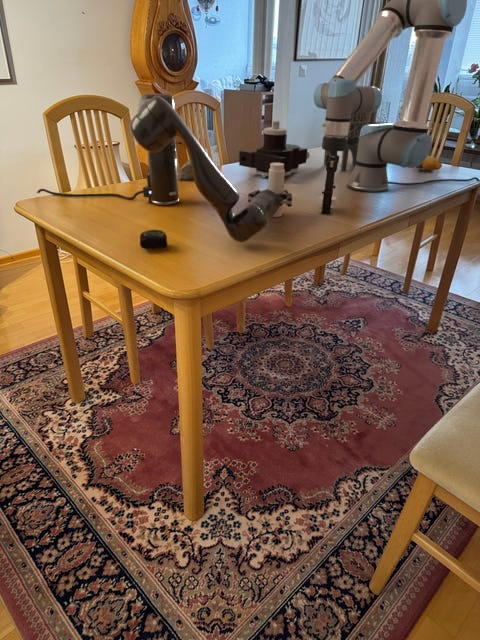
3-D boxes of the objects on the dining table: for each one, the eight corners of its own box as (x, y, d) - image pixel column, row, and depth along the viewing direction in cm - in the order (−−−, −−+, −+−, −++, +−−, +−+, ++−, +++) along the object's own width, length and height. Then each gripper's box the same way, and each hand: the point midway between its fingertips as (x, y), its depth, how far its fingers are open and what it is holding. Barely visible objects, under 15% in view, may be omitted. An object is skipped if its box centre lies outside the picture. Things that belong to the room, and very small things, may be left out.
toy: (415, 164, 201) (409, 156, 214) (418, 178, 204) (412, 170, 217) (442, 156, 198) (434, 149, 211) (444, 170, 201) (436, 162, 214)
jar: (266, 212, 147) (269, 162, 139) (281, 212, 147) (284, 162, 139) (266, 216, 143) (269, 165, 135) (282, 217, 143) (285, 165, 135)
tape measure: (140, 252, 115) (139, 238, 113) (141, 242, 120) (140, 229, 119) (167, 251, 116) (166, 237, 114) (167, 241, 121) (166, 228, 120)
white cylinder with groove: (336, 206, 146) (337, 200, 145) (319, 205, 146) (319, 199, 145) (334, 201, 150) (335, 195, 149) (317, 200, 151) (318, 195, 150)
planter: (313, 167, 208) (319, 103, 195) (331, 160, 222) (338, 101, 209) (353, 173, 199) (362, 107, 185) (369, 166, 213) (379, 104, 199)
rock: (201, 173, 191) (201, 157, 188) (214, 178, 186) (214, 161, 182) (175, 178, 184) (174, 161, 180) (187, 183, 178) (186, 166, 175)
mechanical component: (240, 120, 182) (283, 115, 202) (239, 174, 192) (280, 164, 212) (283, 126, 170) (325, 120, 190) (280, 183, 180) (320, 171, 200)
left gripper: (288, 195, 126) (300, 182, 140) (239, 190, 130) (256, 178, 144) (286, 222, 130) (298, 206, 144) (239, 216, 134) (255, 201, 148)
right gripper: (324, 131, 146) (316, 202, 158) (321, 139, 130) (312, 218, 142) (348, 132, 145) (338, 204, 157) (347, 141, 129) (336, 220, 141)
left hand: (277, 192), depth 144 cm, fingers closed on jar, 5 cm apart
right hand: (326, 210), depth 149 cm, fingers closed on white cylinder with groove, 6 cm apart
